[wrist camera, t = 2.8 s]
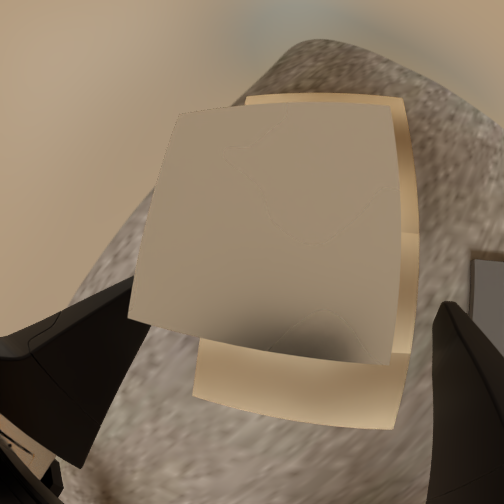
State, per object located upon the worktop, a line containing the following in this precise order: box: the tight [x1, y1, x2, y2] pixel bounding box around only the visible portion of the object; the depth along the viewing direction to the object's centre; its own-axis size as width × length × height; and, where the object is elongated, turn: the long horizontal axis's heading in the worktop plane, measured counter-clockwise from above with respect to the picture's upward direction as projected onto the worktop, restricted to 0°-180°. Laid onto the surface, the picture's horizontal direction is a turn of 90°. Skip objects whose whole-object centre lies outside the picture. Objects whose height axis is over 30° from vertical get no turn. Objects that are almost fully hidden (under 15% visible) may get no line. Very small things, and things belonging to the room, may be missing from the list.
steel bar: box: [128, 102, 401, 365], centre depth 10 cm, size 4×4×13 cm
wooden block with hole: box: [192, 93, 419, 430], centre depth 15 cm, size 18×10×4 cm, turn 173°
